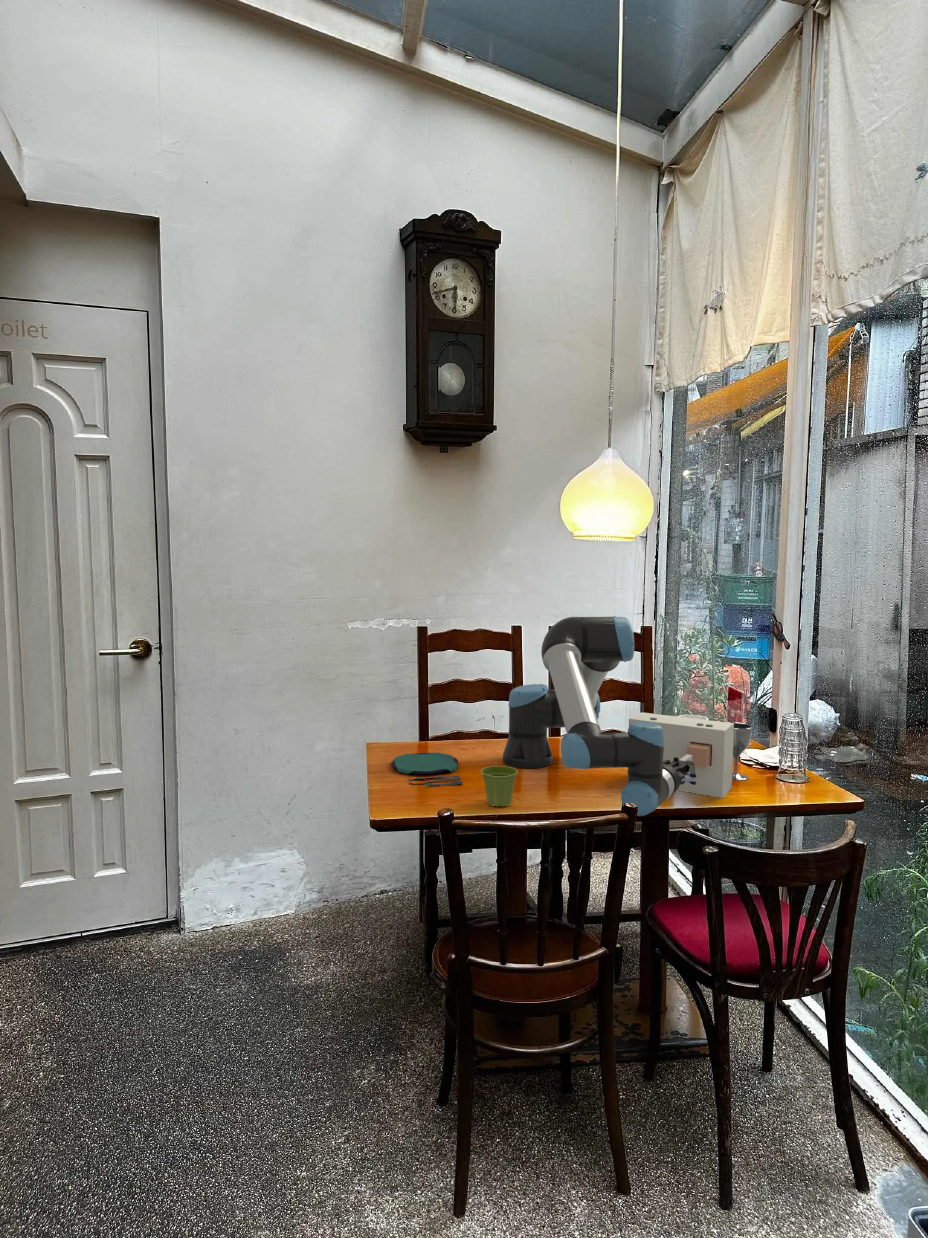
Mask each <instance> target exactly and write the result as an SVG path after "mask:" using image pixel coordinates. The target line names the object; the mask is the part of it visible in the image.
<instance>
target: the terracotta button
mask: <svg viewBox="0 0 928 1238" xmlns="http://www.w3.org/2000/svg"><path fill="white" fill-rule="evenodd" d="M687 754H688V755H692V763H694V764H695V767H702V768H707V767H708V766H709V765H710V764H711V763H712V744H704V743H697V742H693V743H691V744H690V745H689V746H687Z"/></svg>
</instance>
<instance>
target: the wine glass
mask: <svg viewBox="0 0 928 1238" xmlns="http://www.w3.org/2000/svg"><path fill="white" fill-rule="evenodd" d="M727 723H734V737H733V763H734V764H733V766H734V767H733V771H732V781H740V782H741V781H747V780H749V776H747V775H745V774H742V773H739V772H738V763H739V758H740V756H741V755H742V753H744V751H745V750H746V749H748V747H749V746H750V743H751V741H752V740H751V739H752V735H753V734H752V733H753V725H751V724H748V723H745V722H737V721H733V722H732V721H731V722H729V721H728V722H727Z"/></svg>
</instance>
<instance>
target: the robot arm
mask: <svg viewBox="0 0 928 1238" xmlns="http://www.w3.org/2000/svg"><path fill="white" fill-rule="evenodd" d="M540 651H541V654H540V655H541V659H542V663H543V666H544V668H545V669H546V670H547V671H548V672H549V675H550V677H551V680H552V684H553V688H554V689H553V688H552V689H549V688H548V685H547V684H543V683H538V684H537V683H531V684H524V685H519V686H517V687H515V688H513V689H512V690H510V692H509V697H508V709H509V710H508V737H507V740H506V744H505V747H504V749H503V752H502V762H503V763H504V764H505V765H506V766H508V767H512V768H519V769H520V768H521V769H538V768H539V769H540V768H546V767H549V766H550V765H552V764H553V759H554V757H553V752H552V749H551V746H550V743H549V740H548V729H549V728H550V729H552V728H554V729H555V728H558V729H559V728H565V732H566V734H564V735H563V736H562V737H561V740H560V741H561V742H560V754H561V761H562V764H563V765H564V766H565V768H568V769H576V770H577V769H578V770H588V769H614V768H615V769H616V768H617V769H618V768H619V769H620V768H627V778H628V782H627V783H626V785H624V787H623V789H622V790H621V793H620V800H621V803H622V806H623V807H624V803H634V804H636V806H637V807H638V812H637V817H643V816H647V815H648V814H651V813H653V812H655V811H656V810H657V808H658V807H660V806H661V804H663V803H664V802H665V801H666V800H667V799H669V798H670V797H671V796H673V795H674V794H675V793H676V792H678V791H677V789H678V788H679V786H680V785H681V784H684V783H685V781H687V783H690V784H692V785H696V773H695V764H694V763H692V755H688V754H686V755H685V756H684V757H682V758H681V759H678V758H677V757H674V759H673V761H672V762H670V760H665V761H663V752H664V735H663V729H662V727H661V726H660V725H658V724H656V723H652V722H633V723H631V724H630V725H629V724H628V728H627V732H602V730H601V725H600V724H599V716H600V712H601V699H600V696H599V690H600V688H601V686H602V684H603V682H604V680H605V679H606V677H607V674H608V673H609V672H611V671H613V670H615V669H616V668H617V667H618V665H619V664H620V663H621V662H624V663H626V662H630V661H632V660H633V658H634V655H635V634H634V630H633V625H632V623H631V621H630V620H629V618H628V617H625V616H616V615H614V616H570V617H566V618H563V619H560V620H559V621H557V622H556V623H555V624H553V625H552V626H551V627H550V629H549V630H548V631H547V632H546V634H545V635H544V637H543V641H542V645H541V650H540ZM688 771H689V772H688ZM685 775H686V776H685Z"/></svg>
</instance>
